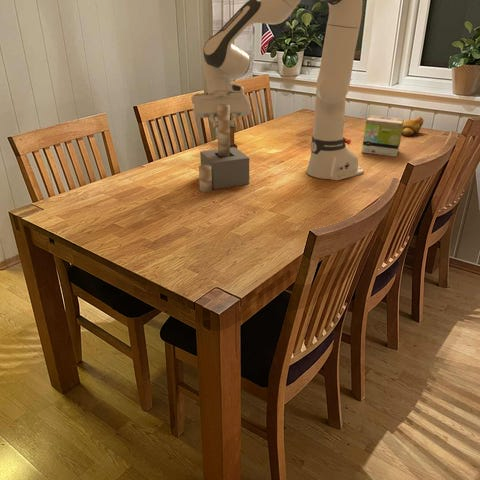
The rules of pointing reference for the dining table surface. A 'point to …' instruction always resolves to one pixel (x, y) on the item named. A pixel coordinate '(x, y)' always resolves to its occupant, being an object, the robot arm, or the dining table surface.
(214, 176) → the hole block
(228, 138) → the tall pin
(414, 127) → the golden brown lumpy piece
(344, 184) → the dining table surface
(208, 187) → the short pin
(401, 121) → the tea box
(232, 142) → the brown pedestal statuette
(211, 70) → the robot arm
